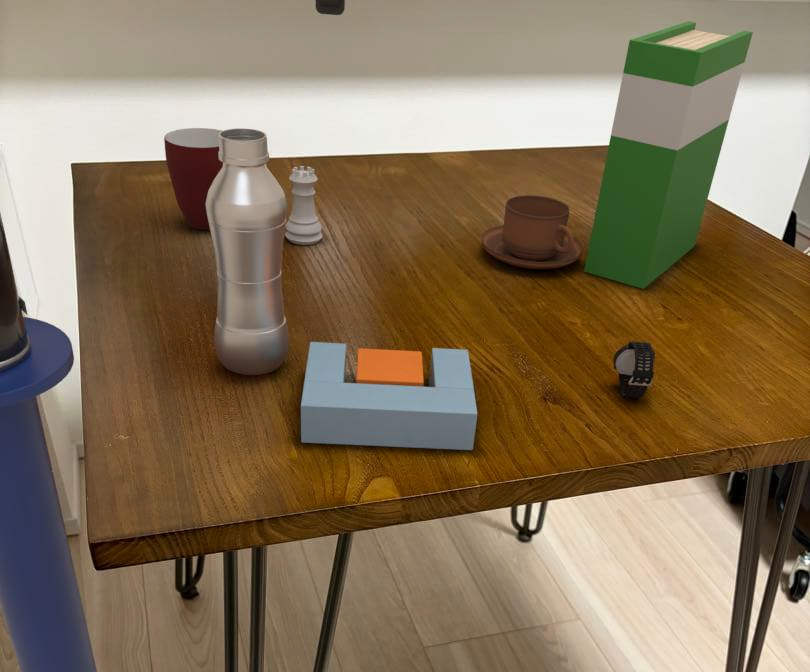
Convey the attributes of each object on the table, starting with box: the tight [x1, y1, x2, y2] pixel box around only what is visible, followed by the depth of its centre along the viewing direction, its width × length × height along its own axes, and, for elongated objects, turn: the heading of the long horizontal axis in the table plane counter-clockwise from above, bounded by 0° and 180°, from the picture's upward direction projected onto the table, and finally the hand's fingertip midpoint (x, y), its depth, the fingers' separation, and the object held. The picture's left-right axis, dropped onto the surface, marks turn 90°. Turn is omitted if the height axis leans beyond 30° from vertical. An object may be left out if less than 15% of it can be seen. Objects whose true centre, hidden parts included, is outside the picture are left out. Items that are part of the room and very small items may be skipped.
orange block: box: [356, 347, 425, 387], centre depth 78 cm, size 6×6×4 cm
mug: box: [163, 127, 223, 231], centre depth 106 cm, size 11×8×10 cm
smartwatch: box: [612, 341, 656, 399], centre depth 81 cm, size 4×5×5 cm
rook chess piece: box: [284, 165, 323, 246], centre depth 104 cm, size 4×4×8 cm
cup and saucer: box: [481, 194, 584, 270], centre depth 105 cm, size 12×12×6 cm
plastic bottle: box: [206, 127, 290, 376], centre depth 76 cm, size 6×7×20 cm
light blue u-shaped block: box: [300, 341, 478, 451], centre depth 76 cm, size 14×11×4 cm
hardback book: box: [583, 21, 754, 290], centre depth 102 cm, size 18×7×24 cm, turn 147°
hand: (333, 4), depth 72 cm, fingers open, 8 cm apart
